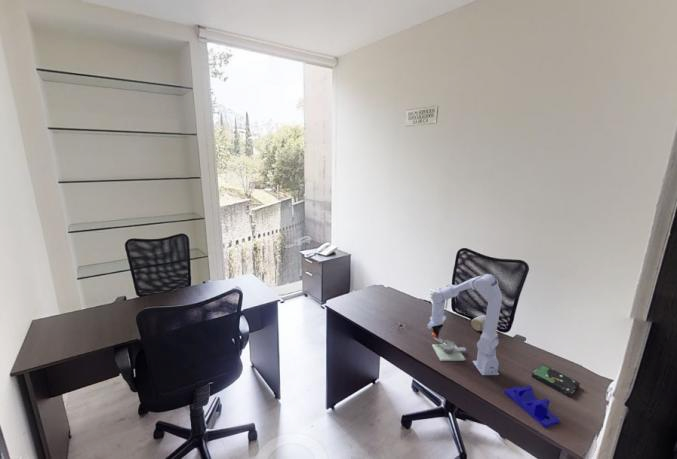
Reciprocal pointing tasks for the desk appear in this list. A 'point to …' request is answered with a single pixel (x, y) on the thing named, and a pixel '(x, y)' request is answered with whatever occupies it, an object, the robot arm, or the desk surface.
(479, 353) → the robot arm
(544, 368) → the disk drive
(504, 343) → the desk surface
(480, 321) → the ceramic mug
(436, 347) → the base
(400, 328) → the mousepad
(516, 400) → the mounting bracket
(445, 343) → the key lever
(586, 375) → the desk surface
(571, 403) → the desk surface
